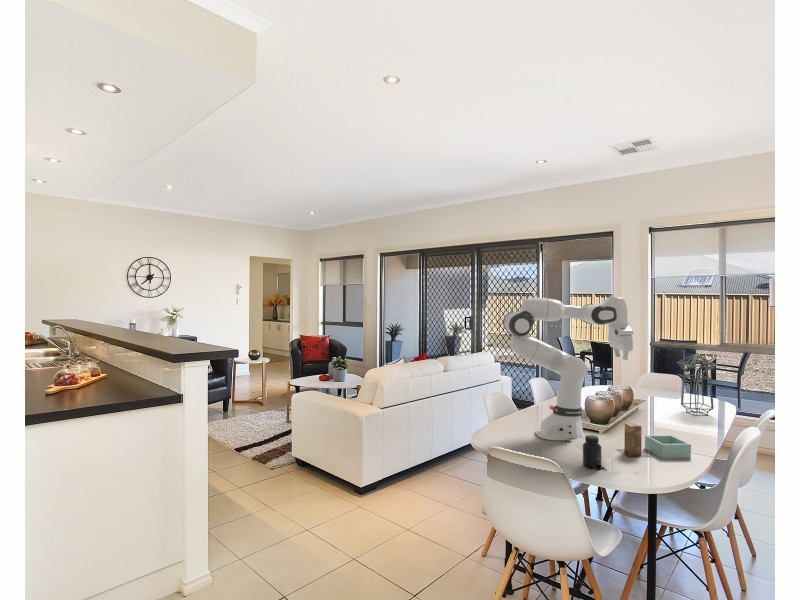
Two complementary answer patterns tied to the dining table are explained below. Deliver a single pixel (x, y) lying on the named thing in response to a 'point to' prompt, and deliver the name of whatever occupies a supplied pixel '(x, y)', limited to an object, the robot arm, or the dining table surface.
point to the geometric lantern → (698, 382)
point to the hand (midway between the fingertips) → (621, 358)
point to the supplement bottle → (592, 453)
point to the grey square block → (632, 455)
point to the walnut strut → (632, 438)
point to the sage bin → (667, 446)
